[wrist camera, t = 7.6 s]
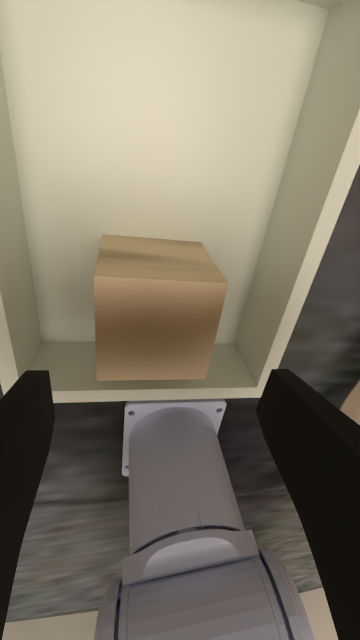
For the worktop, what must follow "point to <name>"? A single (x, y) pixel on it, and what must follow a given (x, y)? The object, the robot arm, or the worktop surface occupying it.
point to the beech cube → (155, 309)
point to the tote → (170, 169)
